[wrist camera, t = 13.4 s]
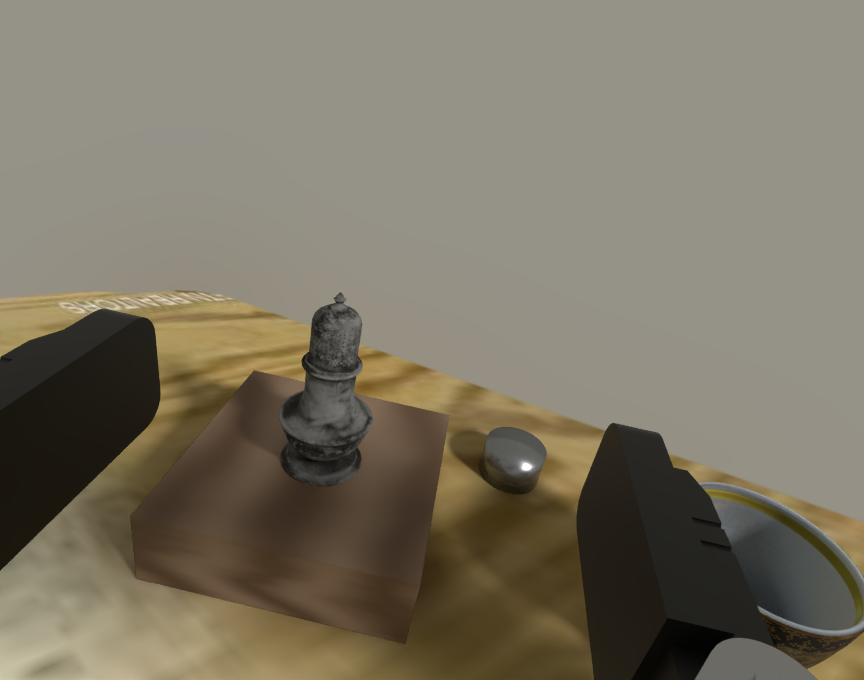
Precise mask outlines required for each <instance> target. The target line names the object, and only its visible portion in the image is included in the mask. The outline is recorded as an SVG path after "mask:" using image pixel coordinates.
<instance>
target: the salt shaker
mask: <svg viewBox="0 0 864 680" xmlns="http://www.w3.org/2000/svg"><path fill="white" fill-rule="evenodd" d="M334 300H335V301H336V303H334V304H330V305H326V306H324V307H321V308H320V309H319V310H317V311H316V312H315V314H314V316H313V319H312V327H311V338H310V349H309V352H308V353H307V354H305V355H304V356H303V359H302V366H303V368H304V370H306V378H305V388H304V391H301V392H298V393H295V394H294V395H292V396H290V397H288V398H287V399H286V400H285V401H284V402H283V403H282V405H281V407H280V409H279V421H280V424H281V426H282V428H283V431H284V433H285V435H286V437H287V440H288V442H287V443H286V445H285V446H284V447H283V449H282V452H281V455H280V457H281V465H282V467H283V469H284V471H285V472H286V473H287V474H288V475H289V476H290V477H292V478H294V479H295V480H297V481H299V482H301V483H304V484H307V485H313V486H332V485H337V484H341V483H343V482H345V481H347V480H349V479H351V478H352V477H353V476H354V475H355V474H356V473H357V472H358V470H359V468H360V466H361V461H362V458H361V453H360V451H359V449H358V445H359V444H360V443H361V441H362V440H363V438H364V437H365V434H367V433H368V431H369V430H370V428H371V427H372V421H373V416H372V412H371V410H370V409H369V407H368V406H367V404H366V403H364V402H363V401H362V400H361V399H360V398H358V397H356V396H354V388H355V381H356V375H358V374H359V373H360V372H361V371H362V367H363V364H362V361H361V360H360V358H359V357H358V350H359V343H360V335H361V328H362V320H361V317H360V316H359V314H358V313H357V312H356V311H355V310H354V309H352V308H351V307H349V306H346V305H344V304H343V303H344V302H345V301H346V299H345V298H344V296H343V295H342V293H339V294H338V295H337V296H336V297H335V298H334Z"/></svg>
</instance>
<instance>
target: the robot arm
mask: <svg viewBox="0 0 864 680" xmlns="http://www.w3.org/2000/svg"><path fill="white" fill-rule="evenodd" d="M159 402H160V381H159V370H158V358H157V347H156V336H155V329H154V326H153V324H152V322H151V321H150V320H149V319H147V318H144V317H139V316H135V315H130V314H126V313H121V312H117V311H112V310H108V309H100V310H97V311H95V312H93V313H91V314H90V315H88V316H86V317H85V318H83V319H81V320H79V321H78V322H76V323H74V324H73V325H71V326H69V327H68V328H66V329H64V330H61V331H58V332H55V333H52V334H48V335H45V336H42V337H39V338H36V339H33V340H29V341H28V342H26V343H24V344H22V345H21V346H19V347H17V348H15V349H13V350H12V351H10V352H8V353H6V354H5V355H3V356H1V359H0V570H1V569H2V568H3V567H4V566H6V565H7V564H8V563H9V562H10V561H11V560H12V559H13V558H14V557H15V556H16V555H17V554H18V553H19V552H20V551H21V550H22V549H23V548H24V547H25V546H26V545H27V544H28V543H29V542H30V541H31V540H32V539H33V538H34V537H35V536H36V535H37V534H38V533H39V532H40V531H41V530H42V529H43V528H44V527H45V526H46V525H47V524H48V523H50V522H51V521H52V520H53V519H54V518H55V517H56V516H57V515H58V514H59V513H60V512H61V511H62V510H63V509H64V508H65V507H66V506H67V505H68V504H69V503H70V502H71V501H72V500H73V499H74V498H75V497H76V496H77V495H78V494H79V493H80V492H81V491H82V490H83V489H84V488H85V487H86V486H87V485H88V484H89V483H90V482H91V481H92V480H94V479H95V478H96V477H97V476H98V475H99V474H100V473H101V472H102V471H103V470H104V469H105V468H106V467H107V466H108V465H109V464H110V463H111V462H112V461H113V460H114V459H115V458H116V457H117V456H118V455H119V454H120V453H121V452H122V451H123V450H124V449H125V448H126V447H127V446H128V445H129V444H130V443H131V442H132V441H133V440H134V439H135V438H136V437H138V436H139V435H140V434H141V433H142V432H143V431H144V430H145V429H146V428H147V427H148V425H149V424H150V423H151V421H152V420H153V418H154V416H155V414H156V412H157V409H158V406H159ZM721 525H722V523H721V521H720V518H719V516H718V514H717V511H716V509H715V507H714V504H713V502H712V500H711V497H710V496H709V495H708V494H707V492H706V491H705V490H704V489H703V488H702V487H701V486H700V485H699V483H698V482H697V481H696V480H695V479H694V478H693V477H692V476H691V474H690V473H689V472H688V471H687V470H682V469H678V468H673V465H672V463H671V460H670V457H669V455H668V452H667V449H666V447H665V444H664V441H663V439H662V437H661V435H660V434H659V433H656V432H652V431H647V430H642V429H638V428H634V427H629V426H625V425H620V424H615V423H612V424H610V426H609V427H608V428H607V430H606V431H605V434H604V436H603V439H602V441H601V444H600V446H599V449H598V451H597V454H596V456H595V459H594V461H593V464H592V466H591V469H590V471H589V474H588V476H587V479H586V481H585V484H584V486H583V489H582V492H581V495H580V499H579V503H578V509H577V535H578V544H579V553H580V561H581V570H582V578H583V587H584V595H585V604H586V613H587V621H588V630H589V638H590V647H591V655H592V664H593V673H594V680H818V679H817V678H816V677H815V676H814V675H812V674H811V673H810V672H809V671H808V670H807V669H806V668H805V667H803V666H802V665H801V664H800V663H798V662H797V661H796V660H794V659H793V658H791V657H790V656H788V655H787V654H785V653H783V652H782V651H780V650H778V649H776V648H775V646H774V644H773V641H772V639H771V637H770V634H769V632H768V630H767V627H766V625H765V623H764V620H763V618H762V616H761V613H760V611H759V609H758V606H757V604H756V602H755V599H754V597H753V595H752V593H751V590H750V588H749V586H748V583H747V581H746V579H745V576H744V574H743V572H742V569H741V567H740V565H739V562H738V560H737V558H736V555H735V553H732V552H731V549H732V546H731V544H730V542H729V539H728V537H727V535H726V532H725V530H724V529H721Z"/></svg>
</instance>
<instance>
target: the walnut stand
mask: <svg viewBox="0 0 864 680" xmlns="http://www.w3.org/2000/svg"><path fill="white" fill-rule="evenodd" d="M304 388H305V382H302V381H298V380H293V379H289V378H285V377H280V376H276V375H271V374H267V373H263V372H258V371H253V372H252V374H251V375H250V376H249V377H248V378H247V379H246V381H245V382H244V383H243V384H242V385H241V387H240V388H239V389H238V390H237V391H236V392H235V394H234V395H233V396H232V397H231V398H230V399H229V401H228V402H227V403H226V404H225V405H224V407H223V408H222V409H221V410H220V411H219V412H218V414H217V415H216V416H215V417H214V418H213V419H212V421H211V422H210V423H209V424H208V425H207V427H206V428H205V429H204V430H203V431H202V432H201V434H200V435H199V436H198V437H197V438H196V439H195V441H194V442H193V443H192V444H191V445H190V447H189V448H188V449H187V450H186V451H185V452H184V454H183V455H182V456H181V457H180V458H179V459H178V461H177V462H176V463H175V464H174V465H173V467H172V468H171V469H170V470H169V471H168V472H167V474H166V475H165V476H164V477H163V478H162V479H161V481H160V482H159V483H158V484H157V485H156V487H155V488H154V489H153V490H152V491H151V492H150V494H149V495H148V496H147V497H146V498H145V499H144V501H143V502H142V503H141V504H140V505H139V507H138V508H137V509H136V510H135V511H134V512H133V514H132V515H131V516H130V518H131V529H132V539H133V549H134V559H135V570H136V579H140V580H144V581H149V582H153V583H157V584H161V585H165V586H169V587H173V588H177V589H182V590H186V591H190V592H194V593H198V594H202V595H206V596H211V597H215V598H219V599H223V600H227V601H231V602H235V603H239V604H244V605H248V606H252V607H256V608H260V609H264V610H268V611H273V612H277V613H281V614H285V615H289V616H293V617H297V618H301V619H306V620H310V621H314V622H318V623H322V624H326V625H330V626H334V627H339V628H343V629H347V630H351V631H355V632H359V633H363V634H368V635H372V636H376V637H380V638H384V639H388V640H392V641H396V642H401V643H405V642H406V638H407V634H408V631H409V627H410V623H411V619H412V615H413V611H414V608H415V604H416V600H417V596H418V592H419V588H420V584H421V578H422V572H423V567H424V561H425V555H426V549H427V543H428V537H429V532H430V526H431V520H432V514H433V508H434V502H435V497H436V491H437V485H438V479H439V473H440V467H441V462H442V456H443V450H444V444H445V438H446V432H447V427H448V421H449V415H446V414H442V413H437V412H433V411H429V410H424V409H420V408H415V407H411V406H407V405H402V404H398V403H394V402H389V401H385V400H381V399H376V398H372V397H367V396H363V395H359V394H354V396H356V397H358V398H360V399H361V400H362V401H363V402H364V403H366V404H367V406H368V407H369V409H370V410H371V412H372V416H373V421H372V427H371V428H370V430H369V431H368V433H367V434H365V437H364V438H363V440H362V441H361V443H360V444H359V445H358V449H359V451H360V453H361V458H362V461H361V466H360V468H359V470H358V472H357V473H356V474H355V475H354V476H353V477H352V478H351V479H349V480H347V481H345V482H343V483H341V484H337V485H332V486H313V485H307V484H304V483H301V482H299V481H297V480H295V479H294V478H292V477H290V476H289V475H288V474H287V473H286V472H285V471H284V469H283V467H282V465H281V457H280V455H281V452H282V449H283V447H284V446H285V445H286V443H287V442H288V440H287V437H286V435H285V433H284V431H283V428H282V426H281V424H280V421H279V409H280V407H281V405H282V403H283V402H284V401H285V400H286V399H287V398H288V397H290V396H292V395H294V394H295V393H298V392H301V391H304Z"/></svg>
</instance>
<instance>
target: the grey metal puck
mask: <svg viewBox="0 0 864 680" xmlns="http://www.w3.org/2000/svg"><path fill="white" fill-rule="evenodd" d="M545 459H546V449H545V447H544V445H543V444H542V442H541V441H540V440H539V439H538V438H536V437H535V436H534V435H532V434H530V433H528V432H526V431H524V430H521V429H518V428H513V427H500V428H496V429H494V430H492V431H491V432H490V433H489V434H488V436H487V440H486V443H485V446H484V450H483V453H482V457H481V460H480V464H479V470H480V473H481V475H482V477H483V478H484V480H485V481H486V482H487V483H489V484H490V485H491V486H493V487H494V488H496V489H498V490H500V491H503V492H506V493H510V494H524V493H527V492H530V491H531V490H533V489H534V487H535V486H536V484H537V481H538V478H539V475H540V473H541V470H542V467H543V464H544V462H545Z"/></svg>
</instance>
